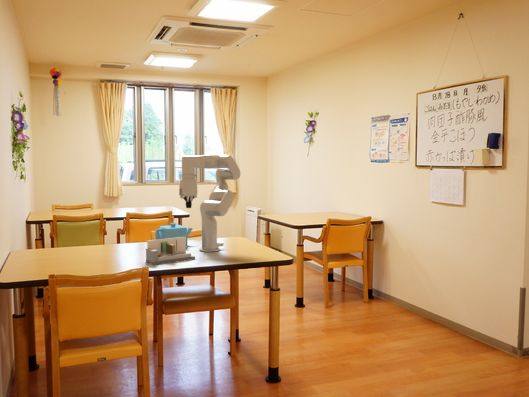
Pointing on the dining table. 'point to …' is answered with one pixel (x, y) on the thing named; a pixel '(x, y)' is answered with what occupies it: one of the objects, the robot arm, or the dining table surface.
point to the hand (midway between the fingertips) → (188, 207)
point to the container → (172, 232)
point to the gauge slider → (168, 250)
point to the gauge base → (155, 249)
